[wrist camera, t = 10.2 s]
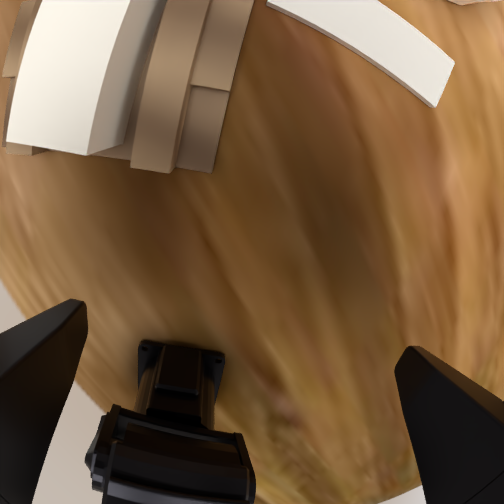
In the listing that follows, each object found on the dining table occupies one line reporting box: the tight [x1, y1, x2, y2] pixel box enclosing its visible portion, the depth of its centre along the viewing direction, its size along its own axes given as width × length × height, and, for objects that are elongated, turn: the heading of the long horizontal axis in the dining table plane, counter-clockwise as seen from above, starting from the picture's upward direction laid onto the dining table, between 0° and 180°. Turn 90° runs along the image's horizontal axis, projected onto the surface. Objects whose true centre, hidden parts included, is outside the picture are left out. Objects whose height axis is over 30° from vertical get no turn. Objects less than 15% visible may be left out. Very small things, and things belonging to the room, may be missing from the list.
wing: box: [266, 0, 455, 108], centre depth 15 cm, size 4×12×1 cm, turn 64°
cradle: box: [2, 0, 254, 174], centre depth 12 cm, size 16×14×3 cm
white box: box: [6, 0, 167, 156], centre depth 11 cm, size 12×4×5 cm, turn 163°
